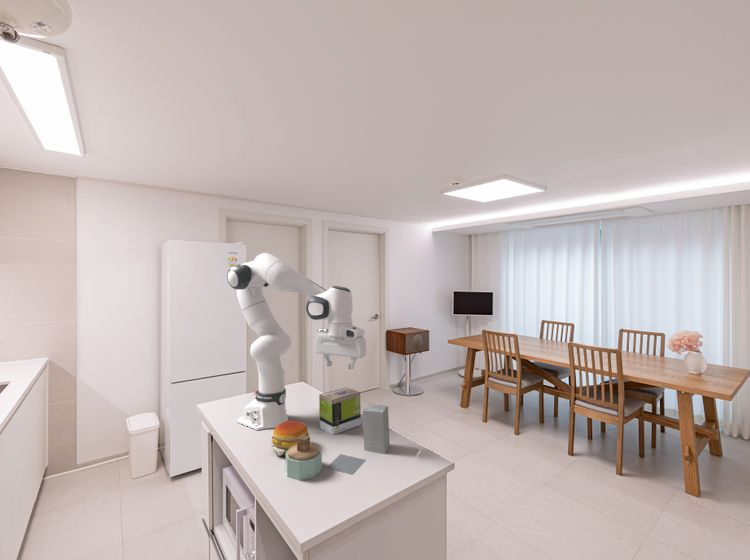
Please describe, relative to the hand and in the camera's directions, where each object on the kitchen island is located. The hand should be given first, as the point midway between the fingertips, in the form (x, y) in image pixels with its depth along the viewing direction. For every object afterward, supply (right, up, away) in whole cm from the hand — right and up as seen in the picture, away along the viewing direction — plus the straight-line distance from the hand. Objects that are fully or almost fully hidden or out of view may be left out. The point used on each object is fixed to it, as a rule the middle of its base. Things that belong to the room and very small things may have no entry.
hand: (340, 367), depth 128 cm
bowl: (-10, -30, -14) cm, 35 cm away
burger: (-18, -31, 0) cm, 36 cm away
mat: (+3, -30, -11) cm, 32 cm away
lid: (-10, -24, -14) cm, 30 cm away
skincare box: (+13, -31, 0) cm, 34 cm away
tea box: (-2, -31, +20) cm, 37 cm away
